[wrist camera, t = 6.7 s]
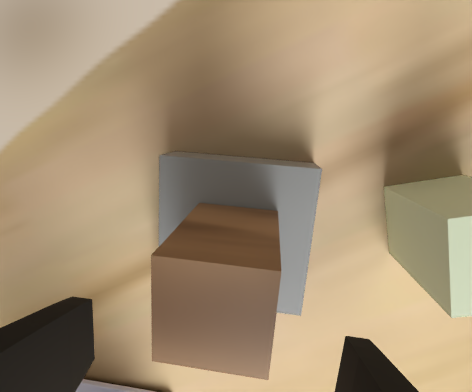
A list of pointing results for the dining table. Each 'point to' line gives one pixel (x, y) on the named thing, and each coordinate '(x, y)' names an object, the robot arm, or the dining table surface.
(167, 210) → the gray slab
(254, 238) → the walnut block
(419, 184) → the sage block
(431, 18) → the dining table surface
